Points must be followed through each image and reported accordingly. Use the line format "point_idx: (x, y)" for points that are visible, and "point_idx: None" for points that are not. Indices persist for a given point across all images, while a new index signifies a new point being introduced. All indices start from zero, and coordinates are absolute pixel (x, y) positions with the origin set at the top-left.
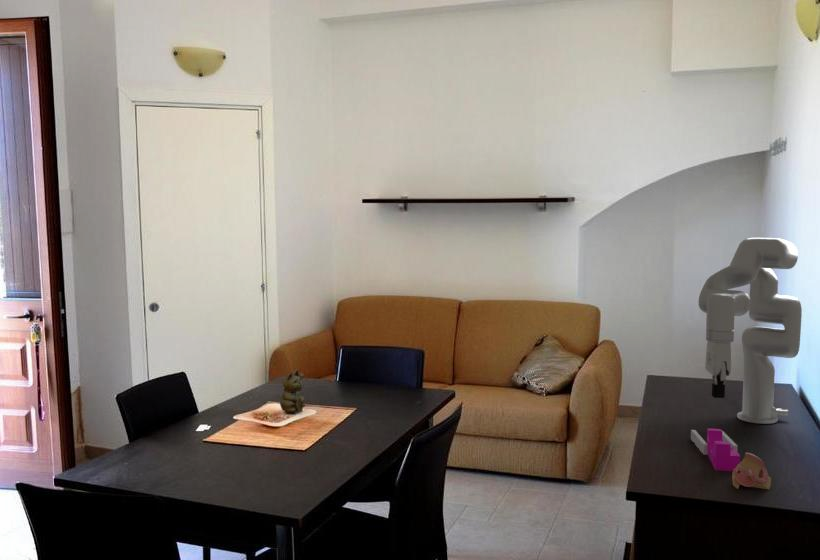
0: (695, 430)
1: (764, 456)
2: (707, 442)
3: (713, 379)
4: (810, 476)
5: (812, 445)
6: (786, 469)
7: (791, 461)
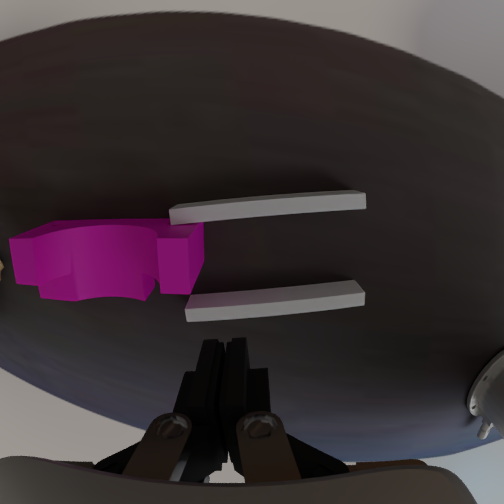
0: (359, 208)
1: None
2: (184, 226)
3: (240, 443)
4: (96, 410)
5: None
6: (120, 387)
7: None
